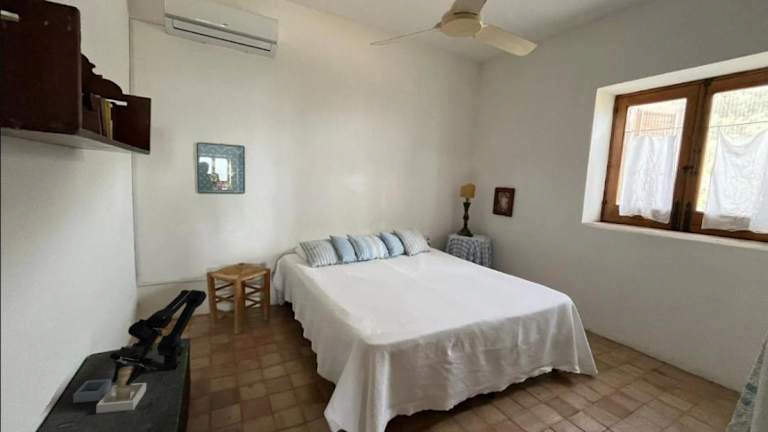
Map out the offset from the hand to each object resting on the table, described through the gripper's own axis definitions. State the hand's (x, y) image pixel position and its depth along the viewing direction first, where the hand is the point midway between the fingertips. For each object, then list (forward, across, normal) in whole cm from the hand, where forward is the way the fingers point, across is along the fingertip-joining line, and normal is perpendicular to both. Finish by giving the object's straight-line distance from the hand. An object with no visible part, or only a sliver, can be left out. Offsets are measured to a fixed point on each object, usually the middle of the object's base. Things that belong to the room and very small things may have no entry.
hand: (120, 383), depth 122 cm
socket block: (+5, -14, +7) cm, 16 cm away
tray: (+5, 0, +7) cm, 9 cm away
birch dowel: (+4, 0, +6) cm, 8 cm away
